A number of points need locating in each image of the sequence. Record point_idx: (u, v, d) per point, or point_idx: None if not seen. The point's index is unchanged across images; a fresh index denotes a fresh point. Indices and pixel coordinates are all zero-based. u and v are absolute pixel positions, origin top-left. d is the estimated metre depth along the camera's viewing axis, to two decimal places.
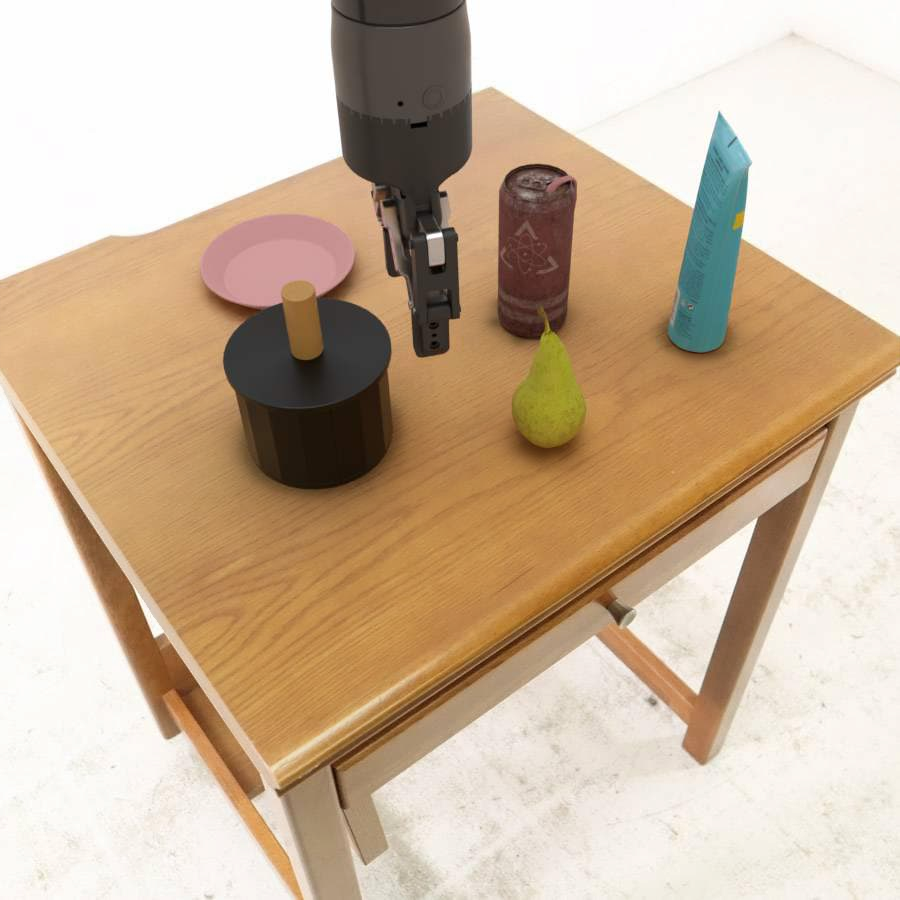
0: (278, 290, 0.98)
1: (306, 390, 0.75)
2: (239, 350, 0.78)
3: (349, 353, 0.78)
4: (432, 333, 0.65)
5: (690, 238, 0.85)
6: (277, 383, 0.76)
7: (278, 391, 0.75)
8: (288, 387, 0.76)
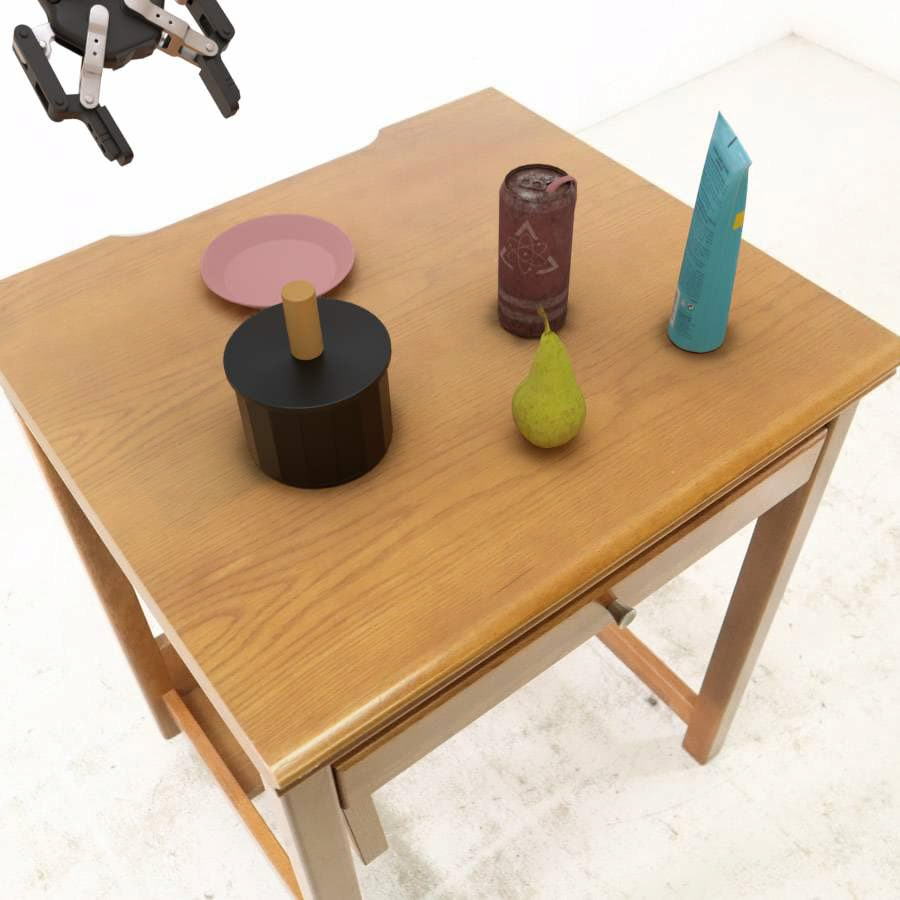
0: (278, 290, 0.98)
1: (306, 390, 0.75)
2: (239, 350, 0.78)
3: (349, 353, 0.78)
4: None
5: (690, 238, 0.85)
6: (277, 383, 0.76)
7: (278, 391, 0.75)
8: (288, 387, 0.76)
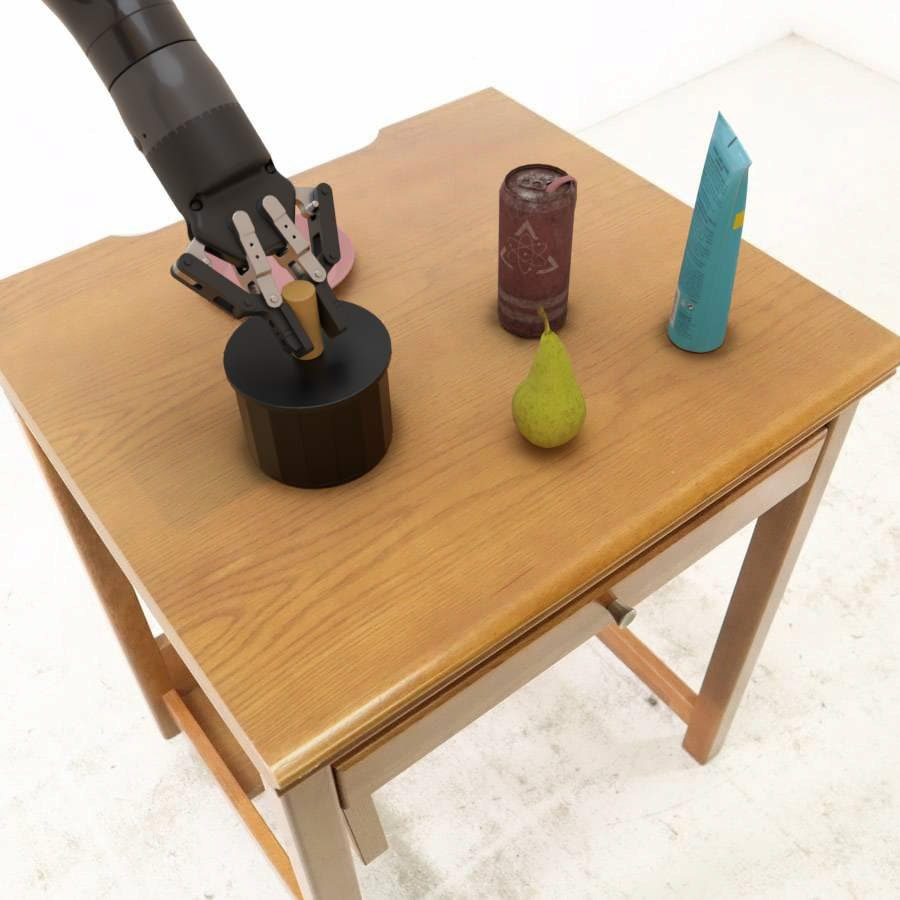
0: None
1: (306, 390, 0.75)
2: (239, 350, 0.78)
3: (349, 353, 0.78)
4: None
5: (690, 238, 0.85)
6: (277, 383, 0.76)
7: (278, 391, 0.75)
8: (288, 387, 0.76)
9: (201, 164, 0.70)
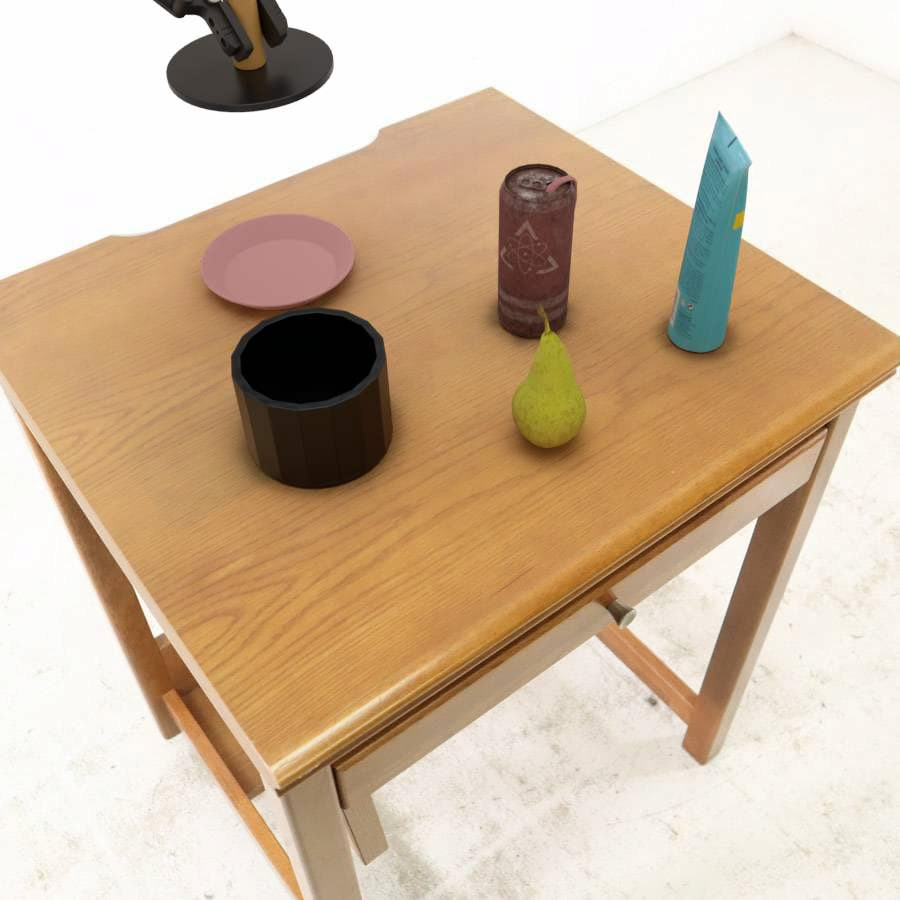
0: (278, 290, 0.98)
1: (246, 92, 0.76)
2: (183, 63, 0.79)
3: (291, 65, 0.79)
4: None
5: (690, 238, 0.85)
6: (218, 87, 0.77)
7: (219, 93, 0.76)
8: (229, 90, 0.76)
9: None
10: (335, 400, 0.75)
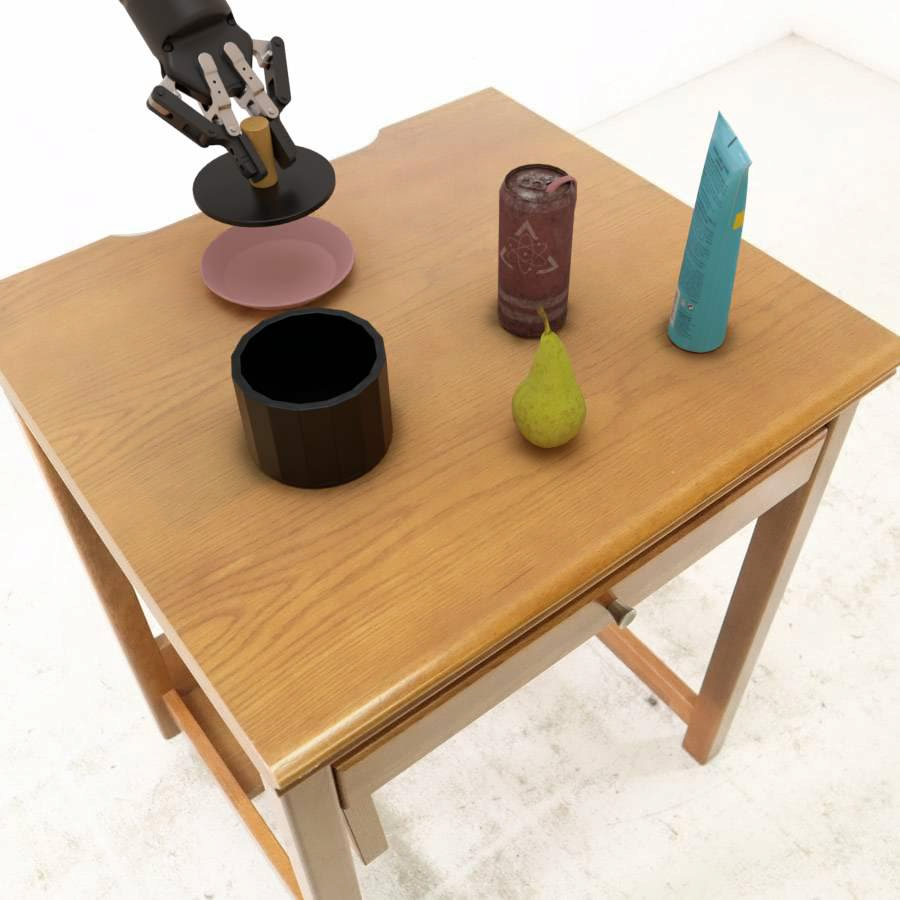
0: (278, 290, 0.98)
1: (261, 209, 0.89)
2: (206, 181, 0.93)
3: (299, 183, 0.92)
4: None
5: (690, 238, 0.85)
6: (237, 204, 0.90)
7: (238, 210, 0.89)
8: (246, 207, 0.90)
9: (171, 10, 0.84)
10: (335, 400, 0.75)
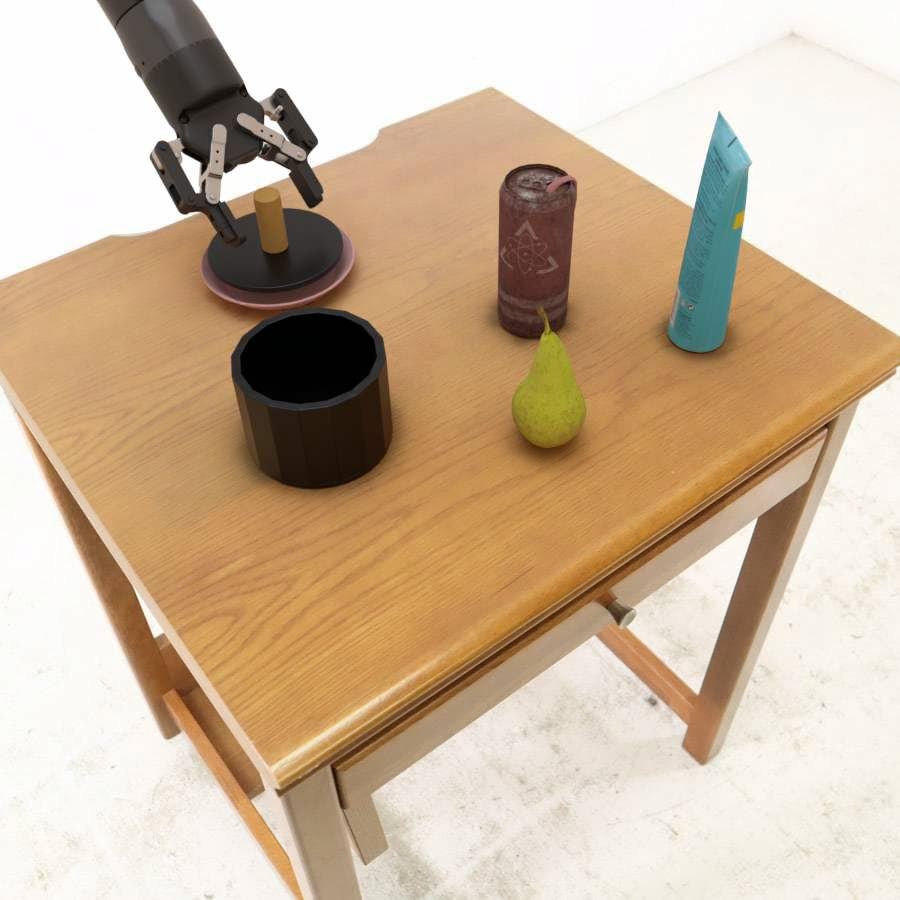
0: None
1: (273, 275, 0.94)
2: (220, 246, 0.98)
3: (308, 248, 0.97)
4: None
5: (690, 238, 0.85)
6: (250, 270, 0.95)
7: (251, 276, 0.94)
8: (259, 273, 0.95)
9: (187, 85, 0.89)
10: (335, 400, 0.75)
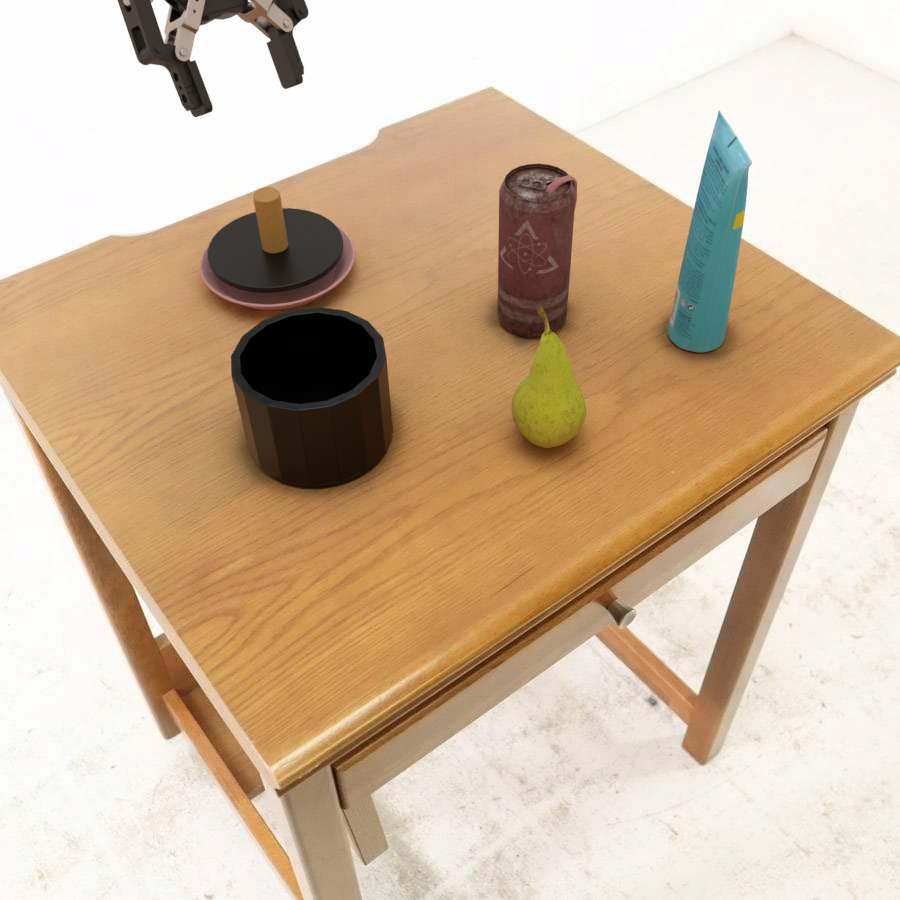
0: None
1: (273, 275, 0.94)
2: (220, 246, 0.98)
3: (308, 248, 0.97)
4: None
5: (690, 238, 0.85)
6: (250, 270, 0.95)
7: (251, 276, 0.94)
8: (259, 273, 0.95)
9: None
10: (335, 400, 0.75)
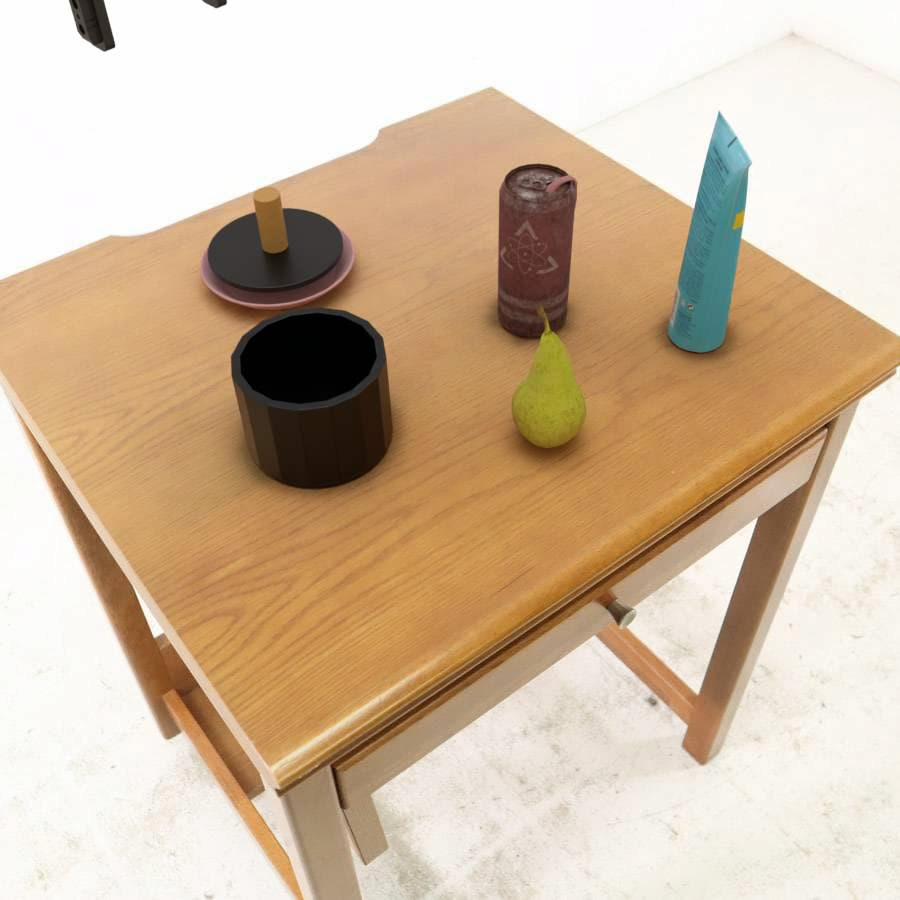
0: None
1: (273, 275, 0.94)
2: (220, 246, 0.98)
3: (308, 248, 0.97)
4: None
5: (690, 238, 0.85)
6: (250, 270, 0.95)
7: (251, 276, 0.94)
8: (259, 273, 0.95)
9: None
10: (335, 400, 0.75)
